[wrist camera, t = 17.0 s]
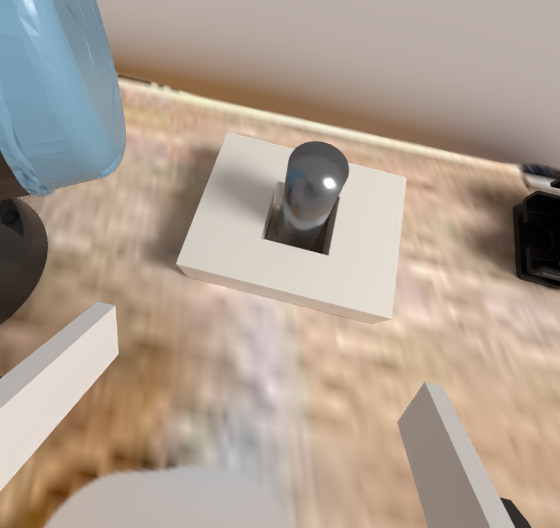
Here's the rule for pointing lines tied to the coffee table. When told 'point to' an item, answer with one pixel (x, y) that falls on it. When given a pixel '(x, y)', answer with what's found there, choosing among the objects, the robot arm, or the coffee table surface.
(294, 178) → the pin
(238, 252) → the socket block
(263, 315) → the coffee table surface
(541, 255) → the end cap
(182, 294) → the coffee table surface
